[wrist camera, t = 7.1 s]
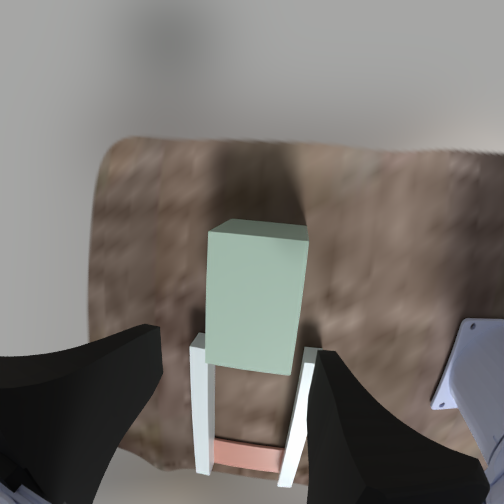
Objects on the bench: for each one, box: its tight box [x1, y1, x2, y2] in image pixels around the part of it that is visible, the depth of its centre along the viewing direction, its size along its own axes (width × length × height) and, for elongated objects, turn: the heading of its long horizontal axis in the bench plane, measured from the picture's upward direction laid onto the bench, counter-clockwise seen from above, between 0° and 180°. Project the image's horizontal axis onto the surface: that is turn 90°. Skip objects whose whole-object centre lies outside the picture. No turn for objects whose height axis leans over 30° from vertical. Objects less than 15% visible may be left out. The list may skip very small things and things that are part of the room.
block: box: [205, 219, 309, 375], centre depth 17 cm, size 4×7×5 cm, turn 176°
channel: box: [190, 332, 322, 488], centre depth 21 cm, size 8×14×2 cm, turn 176°
